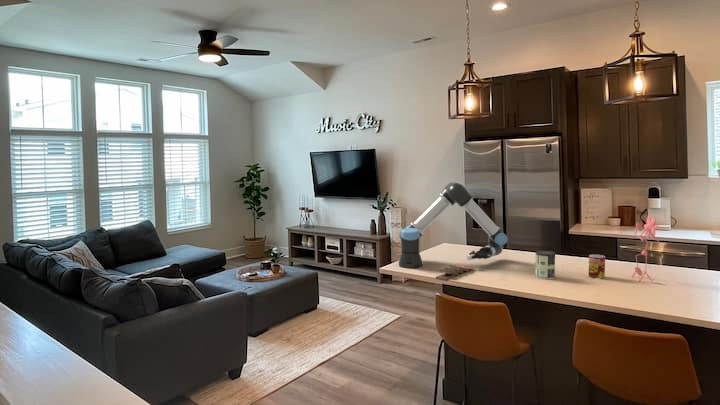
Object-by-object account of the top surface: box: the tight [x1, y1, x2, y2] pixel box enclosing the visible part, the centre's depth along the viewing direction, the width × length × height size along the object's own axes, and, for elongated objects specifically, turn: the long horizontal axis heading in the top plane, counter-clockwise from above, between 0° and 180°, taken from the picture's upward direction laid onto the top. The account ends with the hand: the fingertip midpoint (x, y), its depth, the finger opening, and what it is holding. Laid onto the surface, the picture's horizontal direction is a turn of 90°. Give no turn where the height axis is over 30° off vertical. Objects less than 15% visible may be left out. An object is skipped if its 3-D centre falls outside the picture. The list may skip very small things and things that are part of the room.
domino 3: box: [443, 266, 464, 274], centre depth 249 cm, size 2×6×11 cm
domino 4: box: [449, 265, 470, 273], centre depth 254 cm, size 2×6×11 cm
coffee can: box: [534, 250, 556, 280], centre depth 239 cm, size 10×10×14 cm
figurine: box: [631, 215, 660, 283], centre depth 229 cm, size 15×26×35 cm, turn 169°
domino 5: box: [455, 263, 475, 271], centre depth 257 cm, size 2×6×11 cm
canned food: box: [588, 254, 606, 280], centre depth 237 cm, size 8×8×12 cm
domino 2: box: [435, 273, 456, 281], centre depth 242 cm, size 2×6×11 cm
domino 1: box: [439, 268, 459, 276], centre depth 245 cm, size 2×6×11 cm
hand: (468, 258), depth 260 cm, fingers closed
